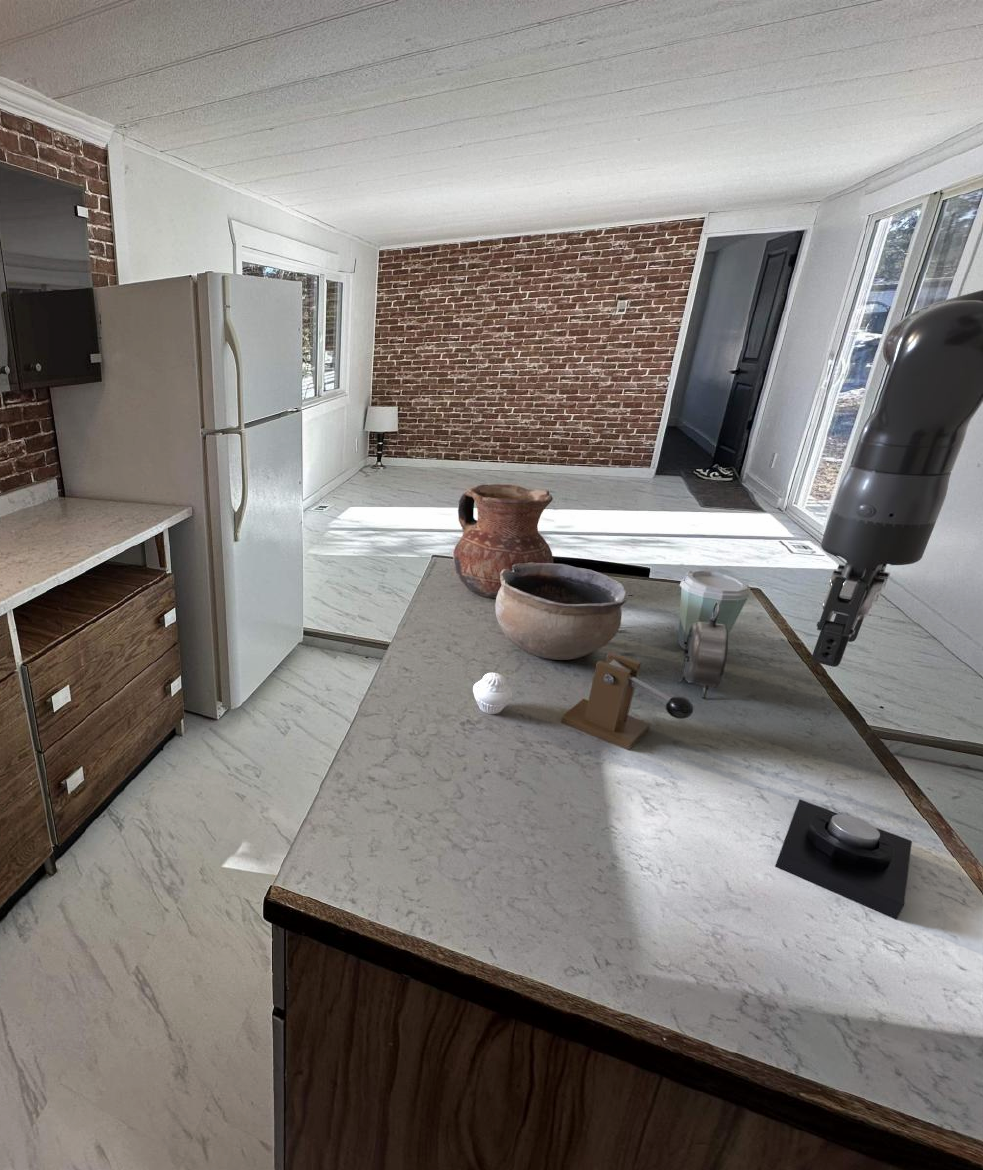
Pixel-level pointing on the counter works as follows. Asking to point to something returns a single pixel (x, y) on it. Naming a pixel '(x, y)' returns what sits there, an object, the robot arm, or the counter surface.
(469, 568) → the jug
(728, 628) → the disposable coffee cup
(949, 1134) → the counter surface
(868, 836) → the grey push button
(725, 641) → the alarm clock
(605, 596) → the ceramic bowl
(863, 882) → the button base
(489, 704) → the muffin
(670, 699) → the ball knob lever
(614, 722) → the lever bracket
